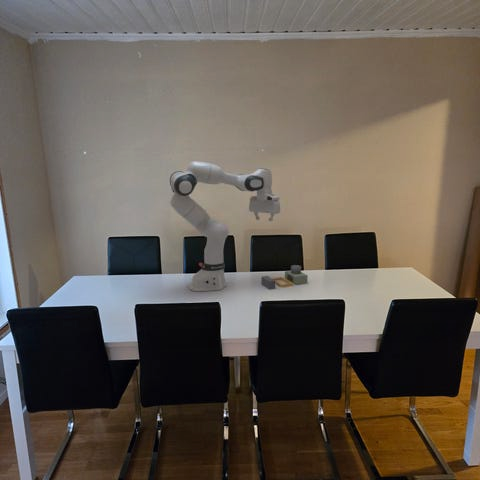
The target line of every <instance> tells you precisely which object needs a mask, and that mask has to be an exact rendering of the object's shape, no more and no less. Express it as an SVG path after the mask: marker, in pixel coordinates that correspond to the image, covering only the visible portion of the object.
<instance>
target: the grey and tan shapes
mask: <svg viewBox="0 0 480 480" xmlns="http://www.w3.org/2000/svg"><path fill="white" fill-rule="evenodd" d="M308 276H309V275H308V274H306V273H303V272H302V265H297V264H294V265H291V266H290V270H286V271H284V277H282V276H278V277H271V278H272V279H274V280H275V286H278V287H280V288H286V287H292V286H293V287H294V285H295V286H298V285H305V284H308ZM279 281H282V282H284V283H280V282H279Z"/></svg>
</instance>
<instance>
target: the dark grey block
mask: <svg viewBox="0 0 480 480" xmlns="http://www.w3.org/2000/svg"><path fill="white" fill-rule="evenodd" d="M272 278H273V277H270V276H268V275H265V276H264V275H263V276H261V286H263V287H264V288H266V289H267V290H274V289H275V290H276V284H275V280H274V279H272Z"/></svg>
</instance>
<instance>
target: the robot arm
mask: <svg viewBox="0 0 480 480" xmlns="http://www.w3.org/2000/svg"><path fill="white" fill-rule="evenodd" d="M198 183H203V184H208V185H220V184H224V185H225V184H226V185H230V186H234V187H235V188H236V189H238V190H239V191H242V192H251V193H252V192H256V195H255V196H254V195H252V196H250V197H249V205H248V211H249V213H250V212H251V213H254V217H255V220H256V221H258V220H260V216H259V215H258V214H259V213H262V214H269V215H270V217H269V218H268V222H273V220H274V219H273V218H274V217H275V215H277V214H280V212H281V202H280V196H279V195H276V194H274V193H273V191H272V190H273V189H272V186H273V176H272V171H271V170H270V169H267V168H258V169H257V170H256V171H254V172H252V173H250V174H246V173H241V174H233V173H230V172H226V171H224V170H223V169H222V167H221V166H218V165H217V164H213V163H209V162H204V161H191V162H189V164H188V165H187V168H186V170H185V171H179V170H177V171H175V172H173V173H172V174H170V177H169V185H170V187H171V191H172V193H174V194H173V195H172V197H171V198H170V205H171V207H172V208H173V209H174V210H175V212H176V213H177V214H178V215H180V216H181V218H183V219H184V220H186V221H187V222H188V223H189V224H191V226H192V227H194V228H195V229H196V230H197V231H198V232H199V233H200V234H201V235H202V236H204V237H205V238H207V239H206V244H205V248H204V253H203V254H204V255H203V259H204V262H203V263H202V262H199V263H198V265H199V266H200V267H201V269H200V270H198V271H197V272H196V273H195V274H194V275H193V276H192V278H191V282H190V283H188V289H189V290H190V291H193V292H209V291H210V292H211V291H212V292H213V291H221V290H222V289H224V288H225V287H226V286H228V285H227V282H226V277H225V261H224V246H225V242H226V239H228V238H227V237H229V228H228V227H227V225H226V224H225V223H223V222H221V221H218V220H216V219H214V218H213V217H212V216H211V215H210V214H209V213H208V212H207V211H206V209H204V208H203V207H202V205H200V204H199V203H197V202H196V200H194V199H193V198H191V197H190V195H191V194H192V193H193V192H194V189H195V188H196V185H197V184H198Z"/></svg>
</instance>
